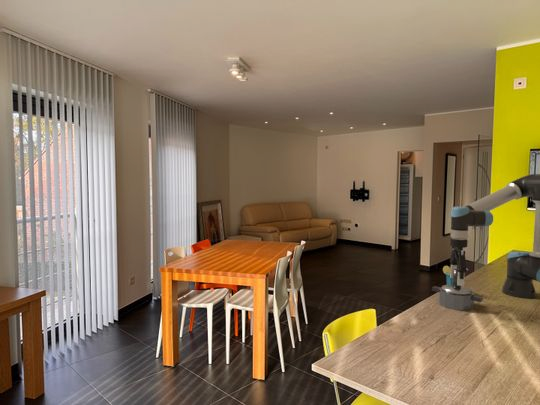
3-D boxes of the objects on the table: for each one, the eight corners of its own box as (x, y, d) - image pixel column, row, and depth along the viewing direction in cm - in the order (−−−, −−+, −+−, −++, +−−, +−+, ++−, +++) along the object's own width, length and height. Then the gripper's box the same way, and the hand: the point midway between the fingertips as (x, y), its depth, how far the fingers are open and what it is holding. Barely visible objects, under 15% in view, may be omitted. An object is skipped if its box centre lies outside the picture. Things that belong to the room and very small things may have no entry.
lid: (467, 288, 185) (468, 267, 184) (475, 296, 172) (476, 274, 171) (439, 286, 188) (440, 265, 187) (445, 293, 175) (446, 272, 174)
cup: (470, 294, 197) (471, 267, 196) (465, 297, 191) (466, 269, 190) (443, 288, 207) (444, 262, 206) (438, 291, 202) (439, 264, 201)
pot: (426, 302, 184) (426, 288, 183) (439, 296, 194) (439, 283, 193) (474, 315, 167) (475, 300, 166) (486, 307, 177) (487, 293, 176)
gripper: (444, 234, 191) (442, 274, 192) (457, 242, 167) (455, 288, 168) (460, 235, 189) (458, 275, 191) (475, 243, 165) (473, 289, 166)
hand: (456, 281), depth 179 cm, fingers open, 13 cm apart
